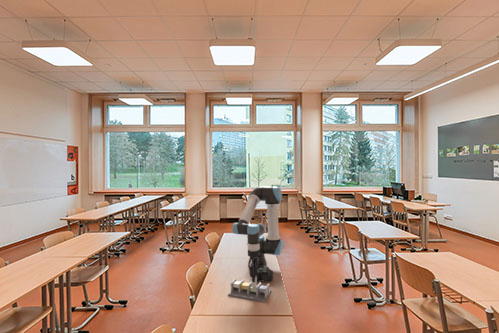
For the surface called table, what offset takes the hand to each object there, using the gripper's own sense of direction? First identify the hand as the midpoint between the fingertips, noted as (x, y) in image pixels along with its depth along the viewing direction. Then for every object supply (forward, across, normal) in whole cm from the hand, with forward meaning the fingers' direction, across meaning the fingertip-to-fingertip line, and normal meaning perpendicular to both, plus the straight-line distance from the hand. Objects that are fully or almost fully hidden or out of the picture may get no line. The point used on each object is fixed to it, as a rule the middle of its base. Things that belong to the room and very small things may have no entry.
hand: (254, 286), depth 163 cm
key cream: (+2, 0, -12) cm, 12 cm away
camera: (+5, -20, 0) cm, 21 cm away
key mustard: (+2, 0, -6) cm, 6 cm away
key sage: (+3, 0, 0) cm, 3 cm away
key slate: (+2, 0, +6) cm, 6 cm away
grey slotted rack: (+5, 0, -3) cm, 6 cm away
